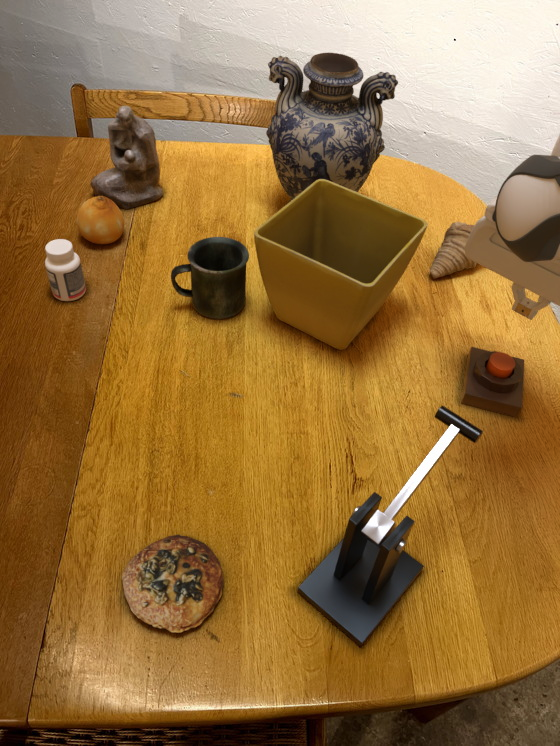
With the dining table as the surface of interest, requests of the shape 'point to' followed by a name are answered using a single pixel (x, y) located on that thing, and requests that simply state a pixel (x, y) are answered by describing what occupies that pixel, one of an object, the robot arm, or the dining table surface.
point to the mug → (215, 276)
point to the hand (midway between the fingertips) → (523, 312)
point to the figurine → (130, 163)
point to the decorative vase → (326, 122)
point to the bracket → (362, 576)
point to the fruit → (100, 220)
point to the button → (500, 365)
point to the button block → (492, 385)
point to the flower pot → (334, 259)
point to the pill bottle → (64, 270)
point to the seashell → (452, 251)
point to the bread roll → (173, 583)
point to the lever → (419, 475)
